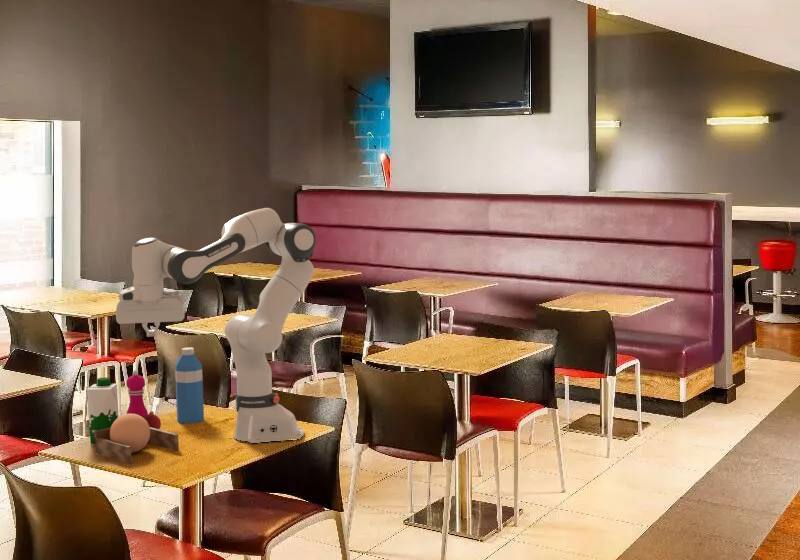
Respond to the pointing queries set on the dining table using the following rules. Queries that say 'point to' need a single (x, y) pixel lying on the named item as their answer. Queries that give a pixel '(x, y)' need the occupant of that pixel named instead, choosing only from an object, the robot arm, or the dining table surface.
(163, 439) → the corral
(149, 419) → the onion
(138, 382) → the pepper mill
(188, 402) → the water bottle
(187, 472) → the dining table surface
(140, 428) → the rubber ball
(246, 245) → the robot arm
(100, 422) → the milk carton
